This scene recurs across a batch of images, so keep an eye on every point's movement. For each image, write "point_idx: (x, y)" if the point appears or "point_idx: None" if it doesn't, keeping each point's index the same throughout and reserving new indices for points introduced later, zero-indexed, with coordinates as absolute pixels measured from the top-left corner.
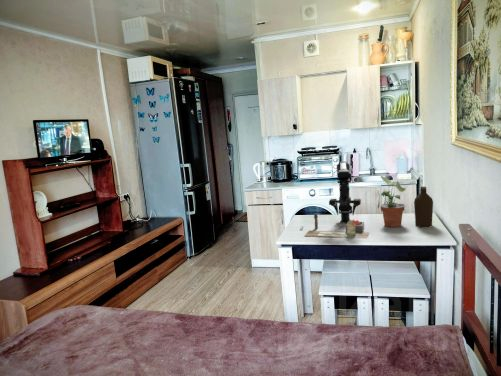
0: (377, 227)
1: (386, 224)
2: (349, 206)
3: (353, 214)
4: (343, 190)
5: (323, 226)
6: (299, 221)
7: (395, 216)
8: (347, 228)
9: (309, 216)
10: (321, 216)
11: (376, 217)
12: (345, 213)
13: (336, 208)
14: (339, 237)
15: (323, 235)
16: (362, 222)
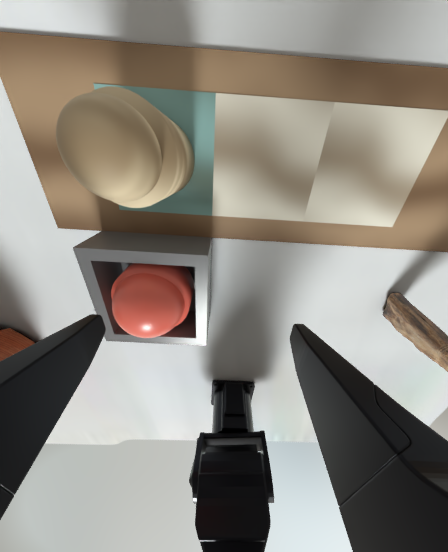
0: (65, 324)
1: (14, 341)
2: (200, 487)
3: (78, 321)
4: None
5: (340, 333)
6: (437, 391)
7: None
8: (172, 126)
9: None
10: None
11: (123, 422)
12: (230, 432)
13: (393, 435)
14: (254, 53)
15: (395, 117)
16: (110, 329)
